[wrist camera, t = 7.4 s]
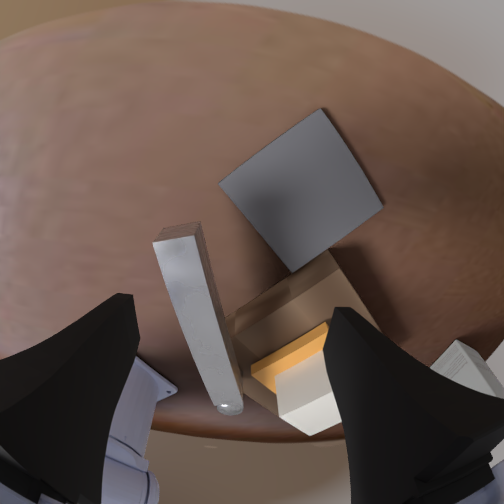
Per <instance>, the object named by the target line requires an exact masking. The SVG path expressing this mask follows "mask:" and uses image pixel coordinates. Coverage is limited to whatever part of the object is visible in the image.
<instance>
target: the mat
mask: <svg viewBox="0 0 504 504" xmlns="http://www.w3.org/2000/svg"><path fill="white" fill-rule="evenodd" d="M218 185H219V186H220V187H221V188H222V189H223V190H224V192H225V193H226V194H227V195H228V196H229V198H230V199H231V200H232V201H233V202H234V204H235V205H236V206H237V207H238V208H239V210H240V211H241V212H242V213H243V214H244V215H245V217H246V218H247V219H248V220H249V221H250V223H251V224H252V225H253V226H254V228H255V229H256V230H257V231H258V232H259V234H260V235H261V236H262V237H263V238H264V240H265V241H266V242H267V243H268V244H269V246H270V247H271V248H272V249H273V250H274V252H275V253H276V254H277V255H278V257H279V258H280V259H281V260H282V261H283V263H284V264H285V265H286V266H287V268H288V269H289V270H290V271H291V272H292V273H293V272H294V271H296V270H297V269H299V268H300V267H302V266H303V265H305V264H306V263H307V262H309V261H310V260H312V259H313V258H315V257H316V256H317V255H319V254H320V253H322V252H323V251H325V250H326V249H327V248H329V247H330V246H332V245H333V244H334V243H336V242H337V241H339V240H340V239H341V238H343V237H344V236H346V235H347V234H348V233H350V232H351V231H353V230H354V229H355V228H357V227H358V226H359V225H361V224H362V223H363V222H365V221H366V220H368V219H369V218H370V217H372V216H373V215H374V214H376V213H377V212H378V211H380V210H381V209H382V208H383V206H382V204H381V202H380V200H379V198H378V197H377V195H376V193H375V191H374V190H373V188H372V186H371V184H370V183H369V181H368V179H367V178H366V176H365V174H364V173H363V171H362V169H361V168H360V166H359V164H358V163H357V161H356V160H355V158H354V156H353V155H352V153H351V152H350V150H349V149H348V147H347V146H346V144H345V143H344V141H343V140H342V138H341V137H340V135H339V134H338V132H337V131H336V129H335V128H334V126H333V125H332V123H331V122H330V121H329V119H328V118H327V116H326V115H325V114H324V112H323V111H322V110H321V108H320V109H318V110H316V111H315V112H313V113H312V114H310V115H309V116H307V117H306V118H304V119H303V120H302V121H300V122H299V123H297V124H296V125H294V126H293V127H292V128H290V129H289V130H287V131H286V132H285V133H283V134H282V135H280V136H279V137H278V138H276V139H275V140H274V141H272V142H271V143H269V144H268V145H267V146H265V147H264V148H263V149H261V150H260V151H259V152H257V153H256V154H255V155H253V156H252V157H251V158H249V159H248V160H247V161H246V162H244V163H243V164H242V165H240V166H239V167H238V168H236V169H235V170H234V171H233V172H231V173H230V174H229V175H228V176H226V177H225V178H224V179H223V180H221V181H220V182H219V183H218Z"/></svg>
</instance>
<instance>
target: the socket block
mask: <svg viewBox="0 0 504 504" xmlns="http://www.w3.org/2000/svg"><path fill="white" fill-rule="evenodd" d="M335 307H351V308H353V309H354V310H355V311H356V312H358V313H359V314H360V315H361V316H363V317H364V318H365V319H366V320H367V321H368V322H370V323H371V324H372V325H373V326H374V327H375V328H377V329H378V330H379V331H380V332H381V333H382V331H381V330H380V328H379V326H378V325H377V323H376V322H375V320H374V318H373V317H372V315H371V314H370V312H369V311H368V309H367V307H366V306H365V304H364V303H363V301H362V300H361V298H360V297H359V295H358V293H357V292H356V290H355V289H354V287H353V286H352V284H351V283H350V281H349V280H348V278H347V277H346V275H345V274H344V272H343V271H342V269H341V268H340V267H339V265H338V264H337V262H336V261H335V259H334V258H333V256H332V255H331V253H330V252H329V251H328V249H327V250H325V251H324V252H322V253H321V254H320V255H318V256H317V257H315V258H314V259H312V260H311V261H310V262H308V263H307V264H305V265H304V266H302V267H301V268H299V269H298V270H297V271H295V272H294V273H292V274H291V275H289V276H288V277H286V278H285V279H283V280H282V281H280V282H279V283H277V284H276V285H274V286H273V287H272V288H270V289H269V290H267V291H266V292H264V293H263V294H261V295H260V296H258V297H257V298H255V299H254V300H252V301H250V302H249V303H247V304H246V305H244V306H243V307H241V308H240V309H238V310H237V311H235V312H234V313H232V314H231V315H229V316H227V317H226V318H225V320H226V324H227V328H228V331H229V335H230V338H231V342H232V346H233V349H234V353H235V356H236V360H237V363H238V366H239V368H240V369H241V370H242V371H243V393H244V394H246V395H247V396H249V397H250V398H251V399H253V400H254V401H256V402H257V403H259V404H260V405H262V406H263V407H264V408H266V409H267V410H269V411H270V412H272V413H273V414H275V415H276V416H278V417H279V412H278V403H277V395H276V394H275V393H274V392H272V391H271V390H270V389H268V388H267V387H266V386H264V385H263V384H262V383H261V382H259V381H258V380H257V379H255V378H254V377H253V376H252V375H251V365H252V364H254V363H256V362H258V361H260V360H261V359H263V358H265V357H267V356H269V355H270V354H272V353H274V352H276V351H277V350H279V349H281V348H283V347H284V346H286V345H288V344H290V343H291V342H293V341H295V340H296V339H298V338H300V337H301V336H303V335H305V334H306V333H308V332H309V331H311V330H313V329H314V328H316V327H318V326H319V325H321V324H322V323H324V322H326V323H327V324H328V326H330V322H331V319H332V315H333V312H334V308H335ZM281 419H282V418H281ZM284 421H285V420H284Z"/></svg>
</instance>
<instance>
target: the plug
mask: <svg viewBox="0 0 504 504" xmlns="http://www.w3.org/2000/svg"><path fill="white" fill-rule="evenodd" d="M328 329H329V326H328V324H327V323H326V322H324V323H322V324H321V325H319V326H318V327H316V328H314V329H313V330H311V331H309V332H308V333H306V334H305V335H303V336H301V337H300V338H298V339H296V340H295V341H293V342H291V343H290V344H288V345H286V346H284V347H283V348H281V349H279V350H277V351H276V352H274V353H272V354H270V355H269V356H267V357H265V358H263V359H261V360H260V361H258V362H256V363H254V364H252V365H251V375H252V376H253V377H254V378H255V379H257V380H258V381H259V382H261V383H262V384H263V385H264V386H266V387H267V388H268V389H270V390H271V391H272V392H274V393H275V394H276V395H277V403H278V412H279V417H280V418H282V419H283V420H285V421H286V422H288V423H289V424H291V425H293V426H294V427H296V428H297V429H299V430H301V431H302V432H304V433H306V434H307V435H309V436H311V435H313V434H316V433H318V432H320V431H322V430H325V429H327V428H329V427H331V426H333V425H335V424H338V423H340V422H342V420H341V417H340V414H339V410H338V407H337V404H336V401H335V398H334V394H333V391H332V388H331V385H330V382H329V378H328V375H327V372H326V366H325V360H324V354H323V346H324V343H325V340H326V336H327V333H328Z"/></svg>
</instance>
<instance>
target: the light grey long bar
mask: <svg viewBox="0 0 504 504" xmlns="http://www.w3.org/2000/svg"><path fill="white" fill-rule="evenodd" d="M153 246H154V249H155V253H156V256H157V259H158V262H159V265H160V268H161V272H162V275H163V278H164V281H165V284H166V287H167V289H168V292H169V295H170V298H171V301H172V304H173V307H174V309H175V312H176V315H177V317H178V320H179V323H180V326H181V328H182V331H183V333H184V336H185V339H186V341H187V344H188V346H189V349H190V351H191V354H192V356H193V358H194V361H195V363H196V366H197V368H198V370H199V373H200V375H201V377H202V380H203V382H204V384H205V387H206V389H207V391H208V393H209V396H210V398H211V400H212V402H213V404H214V406H216V405H217V410H218V411H219V412H220V413H222V414H225V415H237V414H240V413H241V412H242V411H243V371H242V370H241V369H240V368H239V366H238V363H237V360H236V356H235V353H234V349H233V346H232V342H231V338H230V335H229V331H228V328H227V324H226V320H225V317H224V313H223V309H222V306H221V302H220V298H219V294H218V290H217V287H216V283H215V279H214V275H213V271H212V267H211V263H210V259H209V255H208V251H207V247H206V242H205V238H204V234H203V230H202V226H201V221H198V222H193V223H187V224H182V225H177V226H172V227H166V228H163V229H162V231H161V232H160V233H159V235H158V236H157V237H156V239H155V240H154V242H153Z"/></svg>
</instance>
